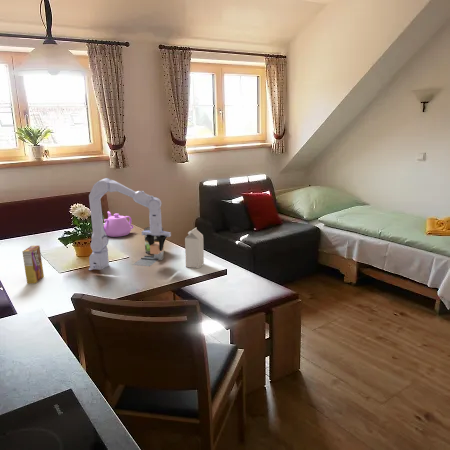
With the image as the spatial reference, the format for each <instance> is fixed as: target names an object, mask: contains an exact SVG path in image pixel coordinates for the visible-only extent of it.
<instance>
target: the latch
mask: <svg viewBox="0 0 450 450" xmlns="http://www.w3.org/2000/svg"><path fill="white" fill-rule="evenodd" d="M153 256H154V259H157V260H158V261H162V260H164V258H165V257H164V252H163V251H162V252H160V253H159V254H154V255H153Z"/></svg>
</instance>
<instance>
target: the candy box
mask: <svg viewBox="0 0 450 450" xmlns="http://www.w3.org/2000/svg"><path fill="white" fill-rule="evenodd" d="M22 257H23V264H24V266H23V267H24V270H25V278H26V284H31V285H32V284H35V285H36V284H37V283H39V281H40V280H41V279H43V278H44V276H45V274H44V268H43V260H42V255H41V246H40V245H30V246H29V247H27V248H25V249H24V250H22Z"/></svg>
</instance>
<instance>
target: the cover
mask: <svg viewBox="0 0 450 450" xmlns="http://www.w3.org/2000/svg"><path fill="white" fill-rule="evenodd" d="M164 249H165V248H164V247H163V250H164ZM163 250H162V251H163ZM162 251H160V249H159V242H155V243H153V244H152V245H150V254H149V255H151V254H159V253H160V252H162ZM164 251H165V250H164Z"/></svg>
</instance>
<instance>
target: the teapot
mask: <svg viewBox="0 0 450 450" xmlns="http://www.w3.org/2000/svg"><path fill="white" fill-rule="evenodd" d="M128 219H129V220H128ZM103 220H104V223H103V227H104V231H105V232H106V236H107V237H111V238H117V237H124V236H127V235H128V236H129V234H130V233H131V231H132V229H134V225H133V224H132V222H133V221H132V220H133V219H132V217H131V216H130V215H125V216H124V215H120V213H119V212H118V213H114V214H113V215H112V213H111V211H109V210H108V211H107V218H104V219H103Z"/></svg>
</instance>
